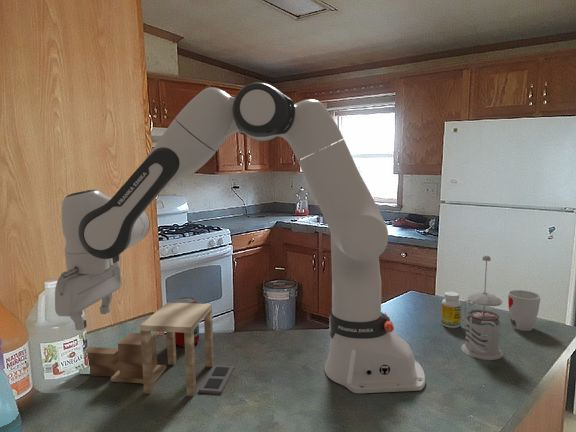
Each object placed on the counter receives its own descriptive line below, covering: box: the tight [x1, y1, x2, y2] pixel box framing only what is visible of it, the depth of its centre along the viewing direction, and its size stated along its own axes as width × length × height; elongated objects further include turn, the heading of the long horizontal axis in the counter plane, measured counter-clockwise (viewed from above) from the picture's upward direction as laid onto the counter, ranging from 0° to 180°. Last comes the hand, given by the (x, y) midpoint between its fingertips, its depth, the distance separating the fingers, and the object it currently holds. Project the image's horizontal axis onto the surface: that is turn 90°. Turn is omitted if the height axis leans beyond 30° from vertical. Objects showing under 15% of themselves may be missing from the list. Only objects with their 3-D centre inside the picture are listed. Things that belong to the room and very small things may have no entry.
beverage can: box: [174, 296, 200, 348], centre depth 112 cm, size 7×7×12 cm
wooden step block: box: [87, 332, 167, 384], centre depth 96 cm, size 19×7×9 cm, turn 83°
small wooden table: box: [139, 302, 215, 397], centre depth 94 cm, size 11×14×15 cm
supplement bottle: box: [440, 291, 462, 329], centre depth 123 cm, size 5×5×10 cm
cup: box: [507, 289, 541, 332], centre depth 120 cm, size 8×8×10 cm
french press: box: [460, 255, 504, 361], centre depth 106 cm, size 10×12×25 cm
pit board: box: [198, 364, 235, 395], centre depth 94 cm, size 5×11×1 cm, turn 173°
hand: (93, 320), depth 96 cm, fingers open, 8 cm apart
